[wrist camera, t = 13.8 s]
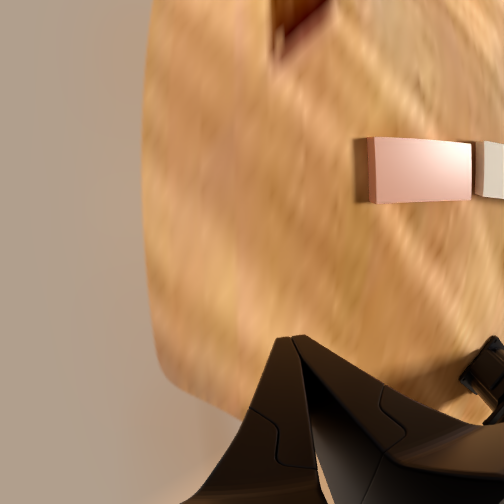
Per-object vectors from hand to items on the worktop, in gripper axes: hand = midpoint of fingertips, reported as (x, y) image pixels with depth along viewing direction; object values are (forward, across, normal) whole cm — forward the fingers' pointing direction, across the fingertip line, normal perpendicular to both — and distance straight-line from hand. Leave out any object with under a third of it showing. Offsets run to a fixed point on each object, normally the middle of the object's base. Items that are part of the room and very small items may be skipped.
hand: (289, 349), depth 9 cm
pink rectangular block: (+12, -8, -4) cm, 15 cm away
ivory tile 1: (+12, -18, -4) cm, 22 cm away
